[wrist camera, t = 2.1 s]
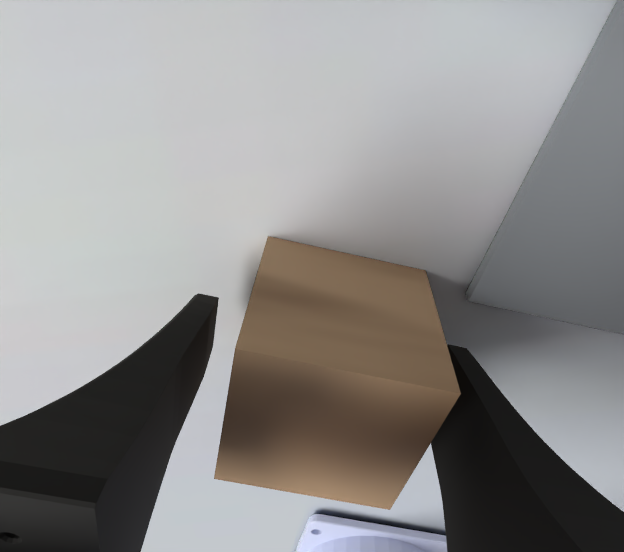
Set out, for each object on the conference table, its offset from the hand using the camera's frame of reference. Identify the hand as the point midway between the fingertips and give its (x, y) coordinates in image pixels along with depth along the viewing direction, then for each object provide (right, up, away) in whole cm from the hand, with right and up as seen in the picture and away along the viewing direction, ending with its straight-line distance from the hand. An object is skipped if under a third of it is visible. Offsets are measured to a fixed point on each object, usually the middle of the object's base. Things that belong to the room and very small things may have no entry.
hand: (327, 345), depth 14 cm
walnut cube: (0, +1, +1) cm, 2 cm away
